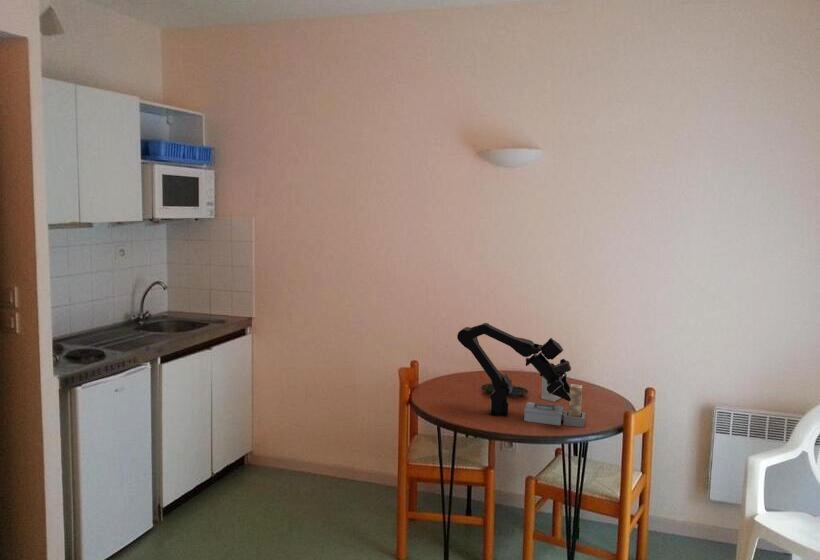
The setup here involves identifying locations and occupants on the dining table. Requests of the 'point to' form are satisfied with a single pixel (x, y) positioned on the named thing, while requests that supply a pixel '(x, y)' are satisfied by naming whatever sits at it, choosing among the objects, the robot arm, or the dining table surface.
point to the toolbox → (551, 415)
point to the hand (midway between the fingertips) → (571, 397)
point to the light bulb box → (546, 394)
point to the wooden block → (575, 400)
